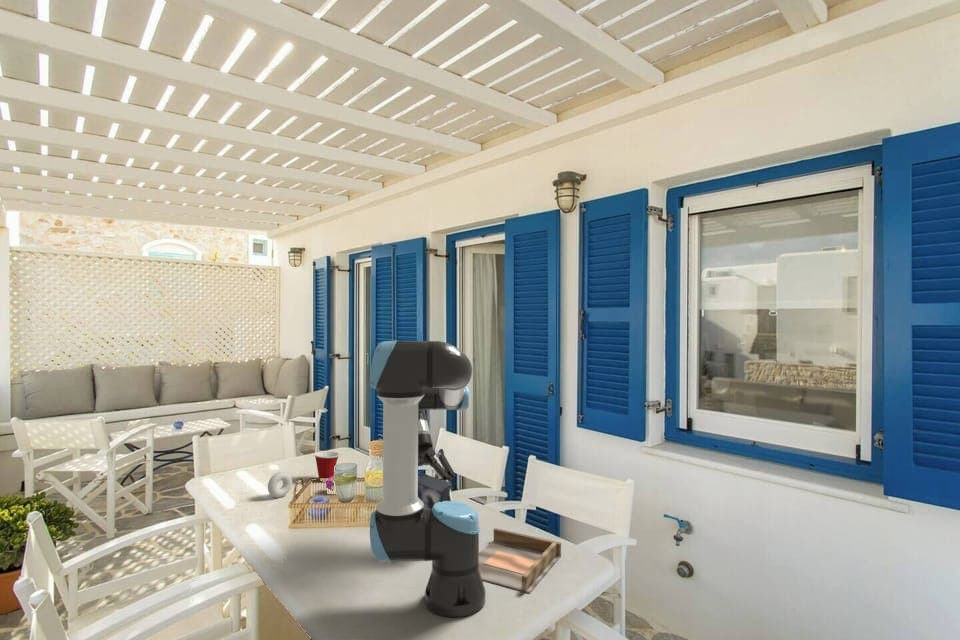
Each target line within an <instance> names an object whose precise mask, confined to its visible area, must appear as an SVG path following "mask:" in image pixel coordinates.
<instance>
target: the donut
mask: <svg viewBox="0 0 960 640" xmlns="http://www.w3.org/2000/svg"><path fill="white" fill-rule="evenodd" d="M281 481H282V486H281V487H280V488H278V483H279V482H281ZM292 487H293V478H292V477H291V475H290V474H289V473H288V472H286V471H279V472H276V473H274V474H273V475H272V476H271V477H270V479H269V481H268V483H267V491H268V493H269V496H271V497H273V498H278V499H279V498H282V497H284V496H286V495H287V494H288V493H289V492H290V491H291V489H292Z"/></svg>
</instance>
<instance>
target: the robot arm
mask: <svg viewBox="0 0 960 640" xmlns="http://www.w3.org/2000/svg"><path fill="white" fill-rule="evenodd" d="M371 363H372V364H371V368H370V369H371V370H370V378H369V379H370V384H369V385H370V388H371V389H373V390H376V397H377V398H378V399H379V400H380V401H381V402H382V404H383V408H382V410H383V413H382V414H383V415H382V416H383V417H382V418H383V419H382V427H383V428H382V499H380V501H379V502H378V503H377V504H376V509H375V510H374V511H372V512H371V513H370V517H369V541H370V549H371V552H372V555H373V558H374V559H375V560H376V561H377V562H381V563H382V562H383V563H384V562H386V563H393V564H394V563H397V562H398V563H403V562H407V563H408V562H432V563H431V572H430V574H429V578H428V581H427V584H426V588H425V590H424V604H425V606H426V608H427V609H428V610H429V611H430V612H431V613H433V614H436V615H438V616H440V617H447V618H461V617H467V616H470V615H473V614H475V613H478V612H479V611H480V610H482V608H483V607H484V606H485V604H486V588H485V586H484V582H483V580H482V578H481V574H480V571H479V552H480V550H479V549H480V548H479V545H480V542H479V540H480V539H479V538H480V537H479V535H480V534H479V533H480V531H481V529H480V523H479V522H480V519H479V514H478V512H477V511H476V509H474V508H473V507H472V506H470V505H468V504H466V503H463V502H460V501H454V499H453V495H452V491H453V490H454V489H453V484H452V480H453V479H454V478H455V477H456V472H455V471H454V470H453V467H452V465H450V462H449V461H448V459H447V457H446V456H445V451H444V449H443V448H439V449H436V450H435V448H434V446H433V440H432V437H431V433H430V431H431V430H430V428H429V423H428V420H427V415H426V411H437V410H439V411H440V410H441V411H444V410H446V411H447V410H448V411H451V410H454V411H460V410H468V408H469V406H470V391H469V387H468V386H467V385H468V384H469V383H470V381H471V379H472V376H473V375H472V374H473V366H472V363H471V360H470V359H469V356H468V355H466V353H465V352H463V351H462V350H461V349H460V348H458V347H456V346H455V345H453V344H451V343H448V342H444V341H441V340H433V341H432V340H430V341H429V340H397V339H396V340H388V341H386V340H385V341H380V342H379V343H378V344H377V346H376V348H375V350H374V353H373V357H372V362H371ZM435 456H436V458H438V460H437V459H436V458H435ZM438 461H439V462H440V463H439V462H438ZM423 466H430V467H432V468H433V470H434V471H435V473H437V474H438V475H439V476H440V477H441V479H442V480H443V481H446V482H449V483H451V486H450V495H449V501H442V502H438V503H435V504H434V505H433V507H432V510H424V503H423V501H421V500H420V499H419V498H418V477H419V467H423Z"/></svg>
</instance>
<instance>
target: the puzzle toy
mask: <svg viewBox="0 0 960 640" xmlns="http://www.w3.org/2000/svg"><path fill="white" fill-rule="evenodd" d="M334 477H335V476H334ZM334 477H330V478H329V479H328V480H327V481H326V482H325V484H326V487H325V488H328V489H330V490H332V491H333V490H334V483H333V482H332V481H331V479H333V478H334Z"/></svg>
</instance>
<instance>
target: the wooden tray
mask: <svg viewBox="0 0 960 640" xmlns="http://www.w3.org/2000/svg"><path fill="white" fill-rule="evenodd" d="M560 558H562V542H559V541H556V540H551V539H545V538H541V537H538V536H534V535H533V536H532V535H529V534H528V535H527V534H524V533H519V532H515V531H509V530H505V529H501V528H496V527H495V528H493V541H492V542H491V543H489V544H488V545H486V546H485V547H484V548H483V549H482V550H480V551H479V571H480V574H481V578H482V581H484V582H486V581H487V583H491V584H494V585H497V584H498V585H497V586H502V587H505V588H509V589H512V590H515V591H518V592H523V593H525V594H531V593H532V592H533V590H534V589H536V587H537V586H538V585H539V583H540V582H541V581H542V580H543V579H544V577H545V576H546V575H547V574H548V573H549V571H550V570H551V569H552V568H553V567H554V565H555V564H557V562H558V561H559V559H560Z"/></svg>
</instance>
